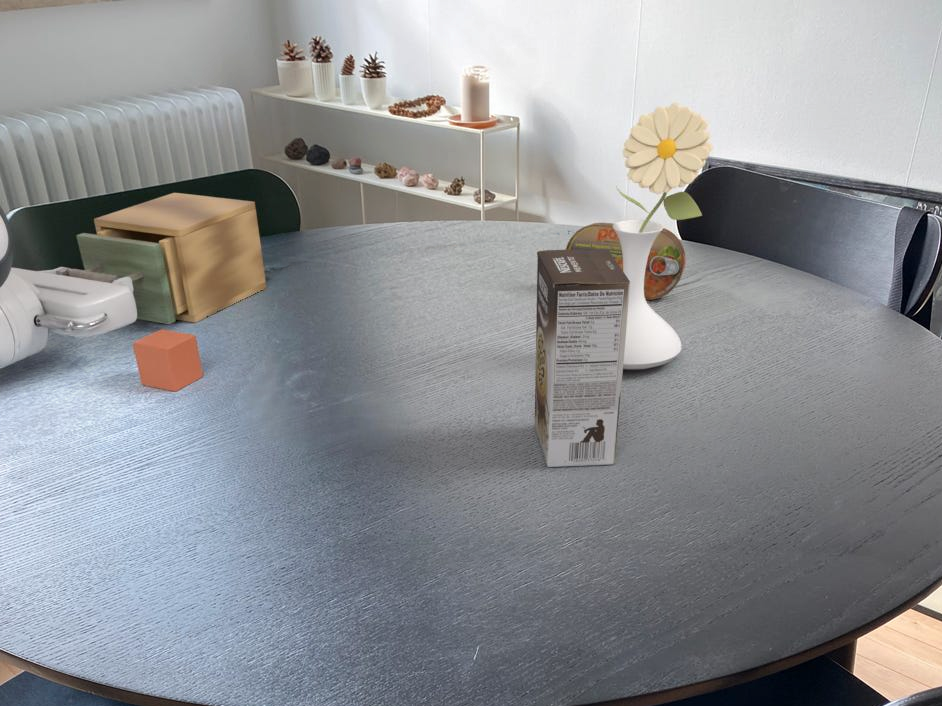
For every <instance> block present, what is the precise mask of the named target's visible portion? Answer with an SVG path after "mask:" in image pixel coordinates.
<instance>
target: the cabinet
mask: <svg viewBox="0 0 942 706" xmlns="http://www.w3.org/2000/svg"><path fill="white" fill-rule="evenodd" d="M93 222H94V226H95V231H96V233H97V232H100V231H103V230H105V229H108V228H116V229H123V230H131V231H138V232H145V233H153V234H160V235H168V236H175V242H176V248H177V253H178V258H179V264H180V269H181V274H182V280H183V285H184V290H185V296H186V301H187V307H188V310H186V311H184V312H182V313H180V314H174V315H175V320H177V321H184V322H187V323H188V322H189V323H198V322H200V321H202V320H204V319H206V318H208V317H211V316H212V314H213V315H215V314H216V312H217V311H219V310H221V311H222V309H223V310H225V309H227V308H229V307H231V306H233V305H235V304H237V303H239V302H241V301H243V300H246V299H247V297H248V298H250V297H252V296H254V295H256V294H258V293H260V292H262V291H264V290H266V289H267V282H266V274H265V266H264V259H263V252H262V244H261V237H260V231H259V223H258V222H259V221H258V216H257V208H256V202H255V201H252V200H242V199H234V198H226V197H215V196H208V195H199V194H191V193H190V194H189V193H181V192H172V193H169V194H166V195H163V196H159V197H157V198H154V199H151V200H147V201H144V202H141V203H138V204H135V205H132V206H128V207H126V208H123V209H120V210H117V211H114V212H111V213H108V214H105V215H101V216H99V217H95V218H94V219H93ZM261 290H262V291H261ZM257 292H258V293H257ZM255 293H256V294H255ZM253 294H254V295H253ZM251 295H252V296H251ZM249 296H250V297H249ZM245 298H246V299H245ZM242 299H243V300H242ZM240 300H241V301H240ZM238 301H239V302H238ZM236 302H237V303H236ZM234 303H235V304H234ZM232 304H233V305H232ZM230 305H231V306H230ZM228 306H229V307H228ZM226 307H227V308H226ZM224 308H225V309H224ZM219 312H220V311H219ZM214 313H215V314H214ZM217 313H218V312H217ZM207 316H208V317H207Z"/></svg>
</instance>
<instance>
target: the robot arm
mask: <svg viewBox="0 0 942 706" xmlns="http://www.w3.org/2000/svg"><path fill="white" fill-rule="evenodd" d="M14 242H15V241H14V236H13V230H12V228H11V224H10V221H9V219H8V217H7V214H6V213H5V211H4V209H3V208H2V206H1V205H0V370H1V369H4V368H6V367H8V366H10V365H12V364H15V363H17V362H19V361H22V360H25V359H26V358H28V357H31V356H33V355H35V354H39V352H41V351H42V350H44V349H45V347H46V345H47V343H48V339H49V333H54V334H58V335H59V334H60V335H65V336H70V337H75V338H92V337H97V336H101V335H104V334H107V333H109V332H113V331H115V330H119V329H121V328H123V327H127V326H129V325H131V324H133V323H135V322H136V321H137V320H138V319H137V308H136V303H135V299H134V295H133V290H134V289H133V284H132V280H131V278H130V277H125V276H117V277H114V278H111V279H110V283H107V282H101V281H95V280H88V279H82V278H76V277H69V272H70V270H72V269H73V268H71V267H65V266H59V267H57V268H54V269H47V270H32V269H31V270H30V269H24V268H20V267H12V266H13V261H14V255H15V243H14Z"/></svg>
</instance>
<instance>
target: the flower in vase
mask: <svg viewBox="0 0 942 706" xmlns="http://www.w3.org/2000/svg"><path fill="white" fill-rule="evenodd" d="M708 124H709V123H708V120H706V119H704V118H703V115H702V114H701V113H697V114H696V112H695V111H694V110H692V108H691V107H689V106H685V107H684V106H682V105H681V106H680V104H679V103H678V102H673V103H671V104H670V105H669V106H665V107H664V106H661V105H659V106H657V107H655V108H654V110H653V112H650V113H648V114H646V113H643V114H641V115H640V116H639V118H638V121H637V123H636V125H633V126H632V127H631V128H630V134H629V136H628V139H626V140H625V141H624V145H623V147H624V148H623V150H622V157H624V158H625V161H624V167H626V168H627V169H628V171H627V173H626V177H627V178H628V179H629V180H631V182H632V183H633V184H638V186H639V188H641V189H644V188H645V189H647V188H648V190H649V192H650V193H653V194H656V195H661V194H662V196H661V197H660V199H659V200H658V202H657V203H656V204H655V206H654V207H653V209H652V210H651V211H650V212H649V211H647V210H646V208H645V207H644V206H643V205H642V204H641V203H640V202H639V201H637V200H636V199H634V198H632V197H630V196H628V195H626V194H624V193H623V192H622V191H621V190H620V189H619V188H618V186H617V185H615V186H616V190H617V191H618V193H619V194H620V195H621V196H622V197H623V198H625V199H626V200H628V202H631V203H633V204H634V205H636V206H638V207H639V208H641V210H643V211H644V212H646V213H647V214H648V215H647V216H646V218H645V219H626V220H621V221H617V222H615V223H613V224H614V225H613V229H614V230H615V232H616V234H617V235H618V238H619V240H620V243H621V247H622V255H623V272H624V273H625V275H626V276H627V278H628V279H629V281H630V290H629V303H628V315H627V327H626V339H625V351H624V362H623V370H646V369H651V368H656V367H659V366H662V365H665V364H668V363H670V362H672V361H673V360H675V359H676V357H678V355H679V354H680V352H681V351H682V348H683V347H682V342H681V339H680V336H679V335H678V334H677V332H676V331H675V330H674V328H673V327H672V326H671V325H670V324H669V323H668V322H667V321H665V319H664V318H662V317H661V316H660V315H659V314H658V313H657V312H656V311H655V310H654V309H653V308H652V307H651V306H650V305H649V303H648V302H647V300H645V297H644V277H645V269H646V264H647V259H648V256H649V252H650V249H651V247H652V244H653V242H654V240H655V239H656V237H657V236H658V234H659V233H660V232H661V231H662V229H663V228H664V226H663V225H662V224H661V223H659V222H656V221H653V220H651V218H652V217H653V216H654V214H655V213H656V212H657V210H658V209H659V208H660V207H661V205H663V207H664V210H665V211H666V214H667V215H668V217H669V218H670V219H671V220H674V221H683V220H688V219H694V218H699V217H702V216H703V214H702V212H701V210H700V208H699V206H698V204H697V203H696V202H695V200H694V199H693V198H692V196H691V195H690V194H689V193H688V192H687V191H678V192H675V193H673V194H670V195H668V196H667V194H668V193H669V192H671V191H672V189H676V188H684V187H686V185H690V184H692V183H693V182H694V181H695V179H696V178H697V177H698V175H699V170H701V169H702V168H704V167H705V166H706V163H707V162H706V160H707V159H708V158H709V157H710V154H711V152H712V151H713V144H712V143H711V142H710V141H709V140H710V138H711V133H710V131H709V130H707V128H708ZM662 203H663V204H662Z"/></svg>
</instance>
